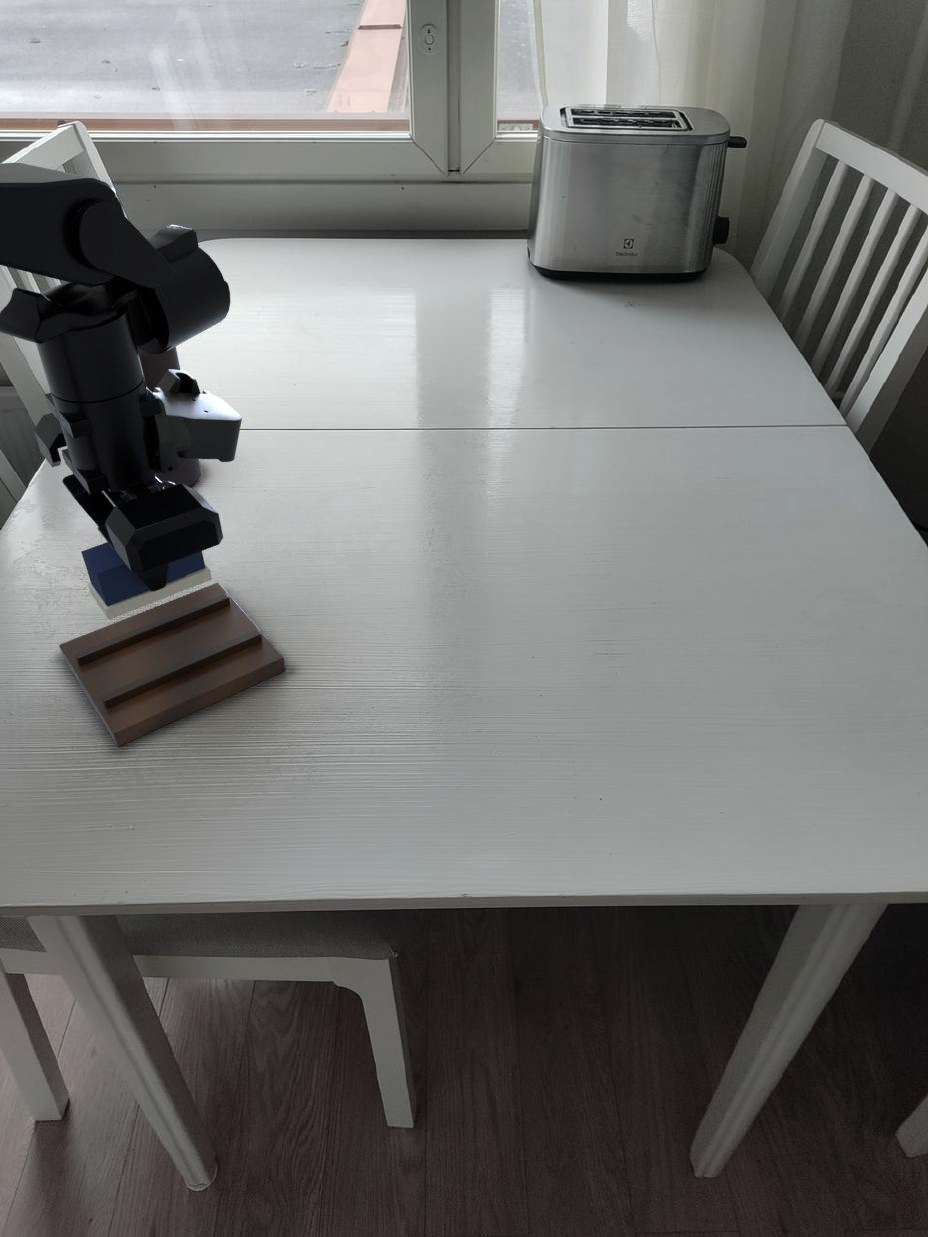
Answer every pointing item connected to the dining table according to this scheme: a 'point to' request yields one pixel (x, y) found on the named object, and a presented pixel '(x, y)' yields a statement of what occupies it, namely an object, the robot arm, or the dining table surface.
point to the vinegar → (153, 373)
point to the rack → (170, 661)
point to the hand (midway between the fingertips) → (148, 576)
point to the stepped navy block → (136, 580)
